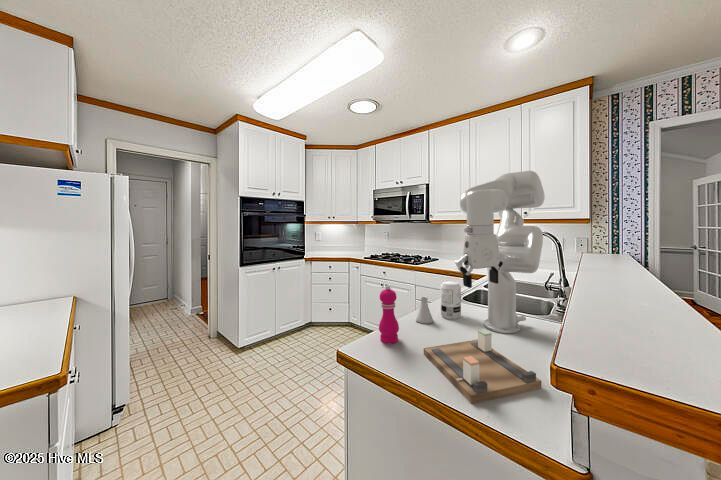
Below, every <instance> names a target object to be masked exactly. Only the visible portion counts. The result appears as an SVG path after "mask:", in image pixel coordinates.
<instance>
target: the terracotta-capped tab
mask: <svg viewBox="0 0 721 480" xmlns="http://www.w3.org/2000/svg"><path fill="white" fill-rule="evenodd" d="M463 378H464V379H465V380H466V381H467V382H468V383H469V384H470V385H473V383H474V382H479V361H477V360H476V359H475V358H473V357H472V356H469V357H463Z"/></svg>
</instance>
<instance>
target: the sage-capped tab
mask: <svg viewBox="0 0 721 480" xmlns="http://www.w3.org/2000/svg"><path fill="white" fill-rule="evenodd" d="M477 340H478V347H479V348H480V349H482V350H483V351H484V352H485V351H491V348H492V333H491V332H490V331H488V330H487V329H485V328H484V329H478V330H477Z"/></svg>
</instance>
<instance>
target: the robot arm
mask: <svg viewBox="0 0 721 480" xmlns="http://www.w3.org/2000/svg"><path fill="white" fill-rule="evenodd" d="M544 201H545V190H544V188H543V184H542V181H541V179H540V177H539V174H538V173H537V172H535V171H533V170H525V171H524V170H523V171H517V172H516V171H514V172H508V173H507V172H506V173H505V174H502V175H500V176H499V177H497V178H496V179H495V180H492V181H489V182H488V181H487V182H485V183H482V184H479V185H476V186H473V187H469V188H468V189H467V190H465V191H464V192H463V193H462V194H461V196H460V200H459V206H460V209H461V211H462V212H463V213H465V214H466V227H465V228H464V230H463V231H464V233H466V235H465V237H464V243H463V254H462V256H461V257H460V258H458V259H456V260H455V262H454V263H455V265H456V267H457V269H458V271H459V272H460V273H461V274H462V281H463V283H462V284H463V286H464V287H467V288H468V289H471V288H473V284H472V283H473V280H472V277H473V276H472V274H471V273H472V272H473V270H478V269H479V270H480V269H487V318H486V319H485V320H484V321H483V326H484V327H485V328H486V329H488V330H490V331H493V332H496V333H501V334H516V333H518V332H520V331H521V325H520V324H519V323H520V322H525V321H526V320H527V318H526V316H525V315H519V316H518V315H517V312H516V311H517V282H516V280H515V277H513V275H512V274H511V273H519V274H520V273H521V274H535V273H536V272H537V271H538V269H539V266H540V260H541V255H542V251H543V250H542V248H543V242H544V235H543V231H542V229H541V227H539V226H537V225H525V224H524V223H525V221H524V217H522V215H521V214H520V213H518V212H517V211H516V210H515V209H531V208H532V209H535V208H539V207H541V206H543V204H544ZM494 213H498V215H499V219H500V221H499V225H498V228H497V232H496V234H495V232H494V231H495V230H494V228H495V227H494V224H495V221H494V220H495V219H494ZM463 265H464V266H463Z"/></svg>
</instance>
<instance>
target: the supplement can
mask: <svg viewBox="0 0 721 480" xmlns="http://www.w3.org/2000/svg"><path fill="white" fill-rule="evenodd" d="M461 295H462V286H461V285H460V282H458V281H456V280H455V281H454V280H444V281H442V282H441V284H440V316H441V317H442V318H443V319H446V320H458V319H460V318H461V316H462V307H461V306H462V301H461V300H462V296H461Z"/></svg>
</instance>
